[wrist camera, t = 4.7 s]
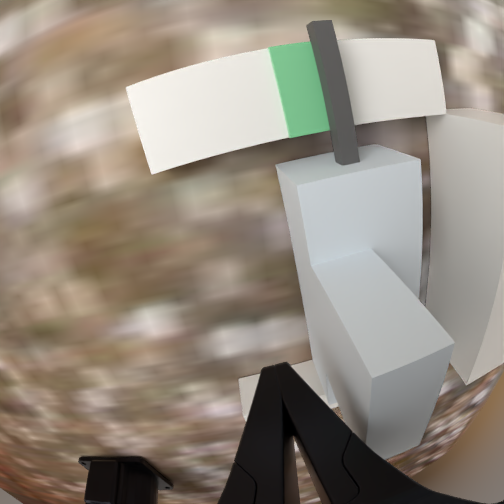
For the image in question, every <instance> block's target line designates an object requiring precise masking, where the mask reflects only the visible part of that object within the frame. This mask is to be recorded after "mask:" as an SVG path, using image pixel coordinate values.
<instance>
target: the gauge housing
mask: <svg viewBox="0 0 504 504" xmlns="http://www.w3.org/2000/svg"><path fill="white" fill-rule="evenodd" d="M337 43H338V47H339V51H340V55H341V60H342V64H343V68H344V73H345V77H346V82H347V87H348V92H349V97H350V102H351V108H352V113H353V119H354V125H359V124H365V123H372V122H379V121H387V120H394V119H402V118H411V117H421V116H426V123H427V133H428V144H429V157H430V176H431V242H430V261H429V275H428V286H427V296H426V305H425V307H426V309H427V310H428V311H429V312H430V313H431V314H432V315H433V317H434V318H435V319H436V320H437V321H438V322H439V324H440V325H441V326H442V327H443V328H444V330H445V331H446V332H447V333H448V334H449V336H450V337H451V338H452V339H453V340H454V342H455V345H454V348H453V352H452V356H451V359H450V363H451V365H452V366H453V367H454V369H455V370H456V372H457V373H458V374H459V376H460V377H461V378H462V380H463V381H464V383H465V384H466V385H468V384H469V383H471V382H473V381H475V380H476V379H478V378H480V377H481V376H483V375H485V374H486V373H488V372H490V371H491V370H493V369H494V368H496V367H498V366H499V365H501V364H502V363H504V114H501V113H496V112H491V111H486V110H480V109H474V108H459V109H446V104H445V96H444V89H443V83H442V76H441V71H440V65H439V60H438V55H437V50H436V45H435V41H434V40H424V39H401V38H369V39H345V40H337ZM126 90H127V94H128V98H129V101H130V105H131V108H132V112H133V115H134V119H135V122H136V126H137V129H138V132H139V136H140V139H141V142H142V145H143V149H144V152H145V155H146V158H147V161H148V165H149V168H150V171H151V174H155V173H158V172H161V171H164V170H167V169H171V168H174V167H177V166H180V165H184V164H187V163H190V162H194V161H197V160H201V159H204V158H208V157H211V156H215V155H219V154H222V153H226V152H230V151H234V150H238V149H242V148H246V147H250V146H254V145H258V144H262V143H266V142H271V141H275V140H280V139H284V138H293V137H298V136H303V135H308V134H313V133H318V132H324V131H329V130H330V128H329V122H328V117H327V112H326V107H325V102H324V97H323V92H322V88H321V83H320V79H319V74H318V70H317V66H316V62H315V57H314V53H313V49H312V45H311V42H302V43H294V44H287V45H280V46H274V47H269V48H267V49H261V50H256V51H251V52H246V53H241V54H236V55H231V56H227V57H223V58H218V59H214V60H210V61H206V62H203V63H199V64H195V65H192V66H188V67H185V68H181V69H178V70H175V71H171V72H168V73H165V74H162V75H159V76H156V77H153V78H150V79H147V80H144V81H141V82H139V83H136V84H133V85H131V86H128V87H126ZM291 367H292V368H293V369H294V370H295V371H296V372H297V373H298V374H299V375H300V376H301V377H302V379H303V380H304V381H305V382H306V383H307V384H308V385H309V386H310V387H311V388H312V389H313V390H314V391H315V392H316V394H317V395H318V396H319V397H320V398H321V399H322V400H323V401H324V402H325V403H326V404H327V405H328V406H329V407H330V408H331V409H332V408H335V407H338V406H339V405H338V403H334V404H331V405H329V403H328V401H327V398H326V395H325V392H324V390H323V387H322V384H321V382H320V379H319V376H318V373H317V371H316V368H315V365H314V362H313V360H309V361H306V362H302V363H299V364H295V365H291ZM259 376H260V374H256V375H252V376H248V377H244V378H239V379H238V380H239V388H240V396H241V404H242V412H243V417H244V419H245V421H247V417H248V414H249V411H250V407H251V404H252V400H253V397H254V394H255V390H256V387H257V383H258V380H259Z"/></svg>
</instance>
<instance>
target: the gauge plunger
mask: <svg viewBox="0 0 504 504" xmlns="http://www.w3.org/2000/svg"><path fill="white" fill-rule="evenodd" d="M307 30H308V34H309V38H310V42H311V45H312V49H313V53H314V57H315V62H316V66H317V70H318V74H319V79H320V83H321V88H322V92H323V97H324V102H325V107H326V112H327V117H328V122H329V128H330V133H331V139H332V144H333V150H334V152H330V153H325V154H320V155H316V156H311V157H306V158H302V159H297V160H293V161H288V162H284V163H280V164H276V169H277V174H278V179H279V183H280V188H281V193H282V197H283V202H284V207H285V212H286V217H287V221H288V226H289V231H290V236H291V241H292V246H293V252H294V257H295V262H296V267H297V273H298V278H299V283H300V289H301V294H302V300H303V306H304V311H305V317H306V323H307V329H308V335H309V341H310V347H311V353H312V359H313V362H314V365H315V368H316V371H317V373H318V376H319V379H320V382H321V384H322V387H323V390H324V392H325V395H326V398H327V401H328V403H329V405H331V404H334V403H338V405H339V408H340V411H341V413H342V416H343V418H344V421H345V424H346V425H347V426H348V427H349V428H350V429H351V430H352V433H355V434H356V435H357V436H358V437H359V438H360V439H361V440H362V441H363V442H364V443H365V444H366V445H367V446H369V447H370V448H371V449H372V450H373V451H374V452H375V453H377V454H378V455H379V456H380V457H382V458H383V459H384V460H385V459H388V458H390V457H393V456H395V455H398V454H400V453H402V452H404V451H407V450H409V449H411V448H413V447H416V446H418V445H419V444H420V441H421V439H422V437H423V435H424V432H425V430H426V427H427V425H428V423H429V420H430V418H431V415H432V412H433V410H434V407H435V404H436V402H437V399H438V396H439V393H440V391H441V388H442V385H443V382H444V379H445V375H446V372H447V369H448V366H449V362H450V359H451V356H452V352H453V348H454V345H455V342H454V340H453V339H452V338H451V337H450V336H449V334H448V333H447V332H446V331H445V330H444V328H443V327H442V326H441V325H440V324H439V322H438V321H437V320H436V319H435V318H434V317H433V315H432V314H431V313H430V312H429V311H428V310H427V309H426V307H425V306H424V305H423V304H422V303H421V302H420V301H419V292H420V279H421V263H422V236H423V202H422V174H421V159H419V158H416V157H413V156H410V155H408V154H405V153H402V152H399V151H396V150H393V149H390V148H387V147H384V146H381V145H378V144H372V145H367V146H361V147H358V144H357V137H356V131H355V125H354V119H353V113H352V108H351V102H350V97H349V92H348V87H347V82H346V77H345V73H344V68H343V64H342V60H341V55H340V51H339V47H338V43H337V39H336V35H335V31H334V28H333V24H332V20H323V21H312V22H311V23H309V24H308V25H307Z"/></svg>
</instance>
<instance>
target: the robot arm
mask: <svg viewBox="0 0 504 504" xmlns="http://www.w3.org/2000/svg"><path fill="white" fill-rule="evenodd" d="M293 436H294V438H295V441H296V443H297V446H298V448H299V450H300V453H301V455H302V458H303V460H304V462H305V465H306V467H307V469H308V472H309V474H310V476H311V479H312V481H313V483H314V486H315V488H316V490H317V493H318V495H319V497H320V499H321V502H322V504H486V503H479V502H475V501H470V500H466V499H461V498H457V497H453V496H450V495H446V494H442V493H439V492H435V491H432V490H430V489H428V488H426V487H424V486H422V485H420V484H419V483H417V482H416V481H414V480H413V479H411V478H410V477H408V476H407V475H405V474H404V473H402V472H401V471H400V470H398V469H397V468H395V467H394V466H392V465H391V464H390V463H388V462H387V461H385V460H384V459H383V458H382V457H380V456H379V455H378V454H377V453H375V452H374V451H373V450H372V449H371V448H370V447H369V446H367V445H366V444H365V443H364V442H363V441H362V440H361V439H360V438H359V437H358V436H357V435H356V434H355V433H352V430H351V429H350V428H349V427H348V426H347V425H346V424H345V423H344V422H343V421H342V420H341V419H340V418H339V417H338V416H337V415H336V414H335V412H334V411H333V410H332V409H331V408H330V407H329V406H328V405H327V404H326V403H325V402H324V401H323V400H322V399H321V398H320V397H319V396H318V395H317V394H316V392H315V391H314V390H313V389H312V388H311V387H310V386H309V385H308V384H307V383H306V382H305V381H304V380H303V379H302V377H301V376H300V375H299V374H298V373H297V372H296V371H295V370H294V369H293V368H292V367H291V365H290V364H289V363H287V362H283V363H279V364H276V365H271V366H267V367H264V368H262V370H261V373H260V376H259V380H258V383H257V387H256V390H255V394H254V397H253V400H252V404H251V407H250V411H249V414H248V417H247V421H246V424H245V427H244V431H243V434H242V437H241V440H240V444H239V447H238V450H237V453H236V456H235V460H234V461H235V462H234V463H233V465H232V469H231V472H230V475H229V477H228V480H227V483H226V486H225V488H224V490H223V493H222V495H221V497H220V499H219V501H218V503H217V504H300V497H299V487H298V477H297V468H296V458H295V449H294V440H293ZM78 462H79V463H80V464H81V465H82V466H84V467H85V468H86V469H87V470H89V472H88V478H87V484H86V490H85V497H84V501H85V502H86V504H158V490H171V489H173V484H172V483H171V482H169V481H168V480H167V479H166V478H164V477H163V476H162V475H161V474H160V473H158V472H157V471H156V470H155V469H154V468H152V467H151V466H150V465H149V464H148V463H147V462H146V461H144V460H143V459H141V458H138V457H131V458H90V457H80V458H79V461H78ZM493 504H504V500H503V501H501V502H498V503H493Z"/></svg>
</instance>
